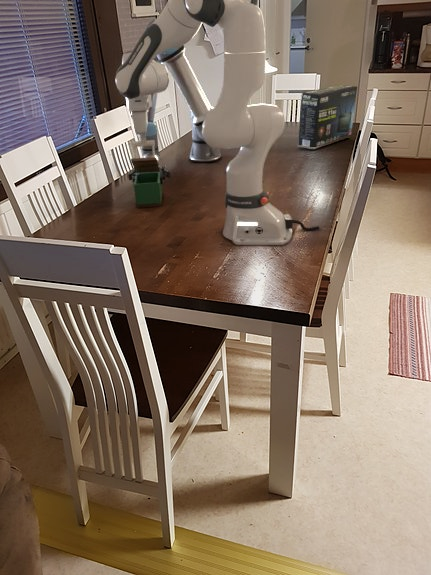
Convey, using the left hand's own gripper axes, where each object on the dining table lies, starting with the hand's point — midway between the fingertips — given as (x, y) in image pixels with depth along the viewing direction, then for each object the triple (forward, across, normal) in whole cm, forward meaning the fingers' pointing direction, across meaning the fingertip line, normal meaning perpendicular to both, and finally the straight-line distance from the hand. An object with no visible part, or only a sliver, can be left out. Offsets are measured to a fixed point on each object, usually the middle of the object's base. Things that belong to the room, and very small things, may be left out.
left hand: (148, 181), depth 178 cm
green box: (+3, 0, -6) cm, 7 cm away
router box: (-68, -91, -7) cm, 113 cm away
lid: (+2, 0, +7) cm, 7 cm away
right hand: (+2, 0, +16) cm, 16 cm away
